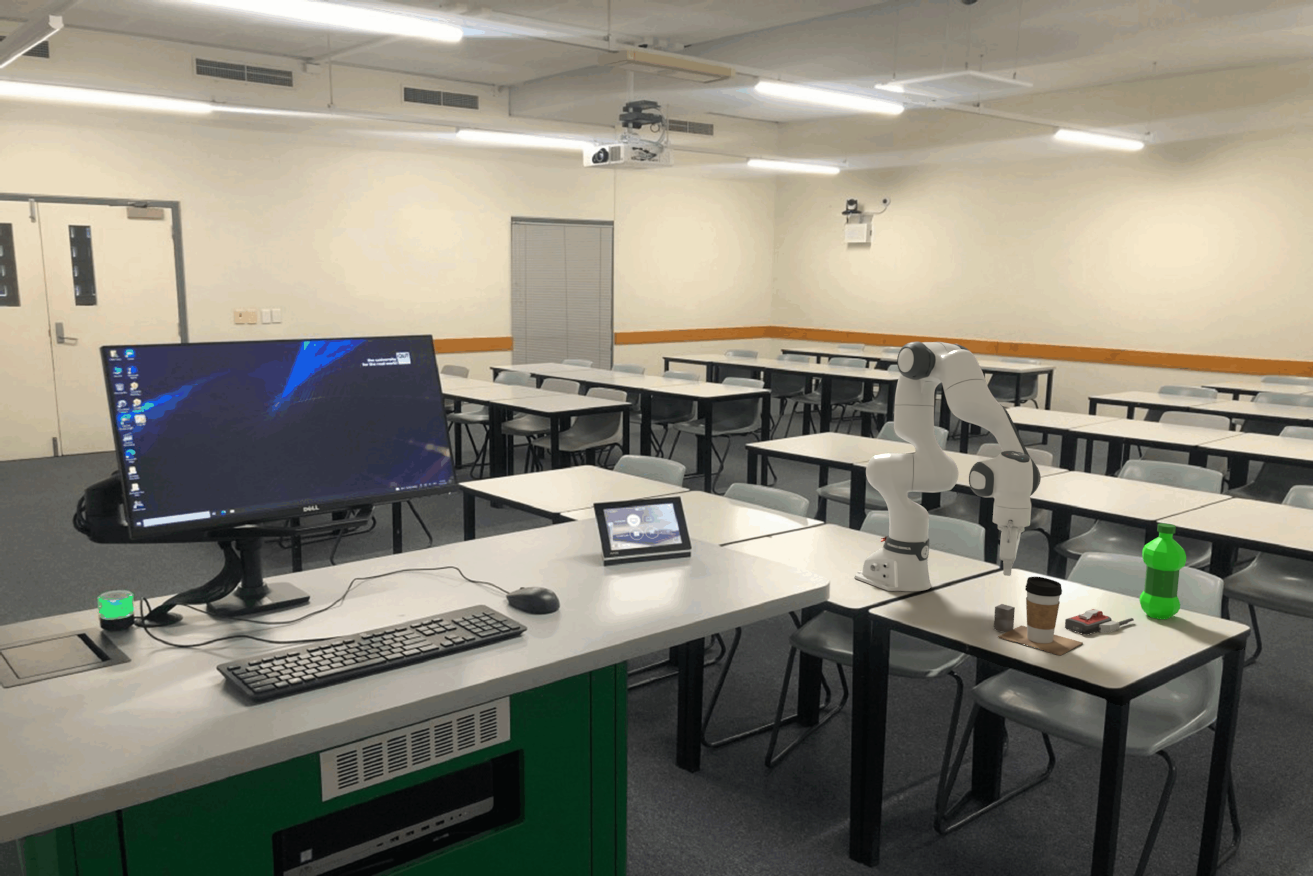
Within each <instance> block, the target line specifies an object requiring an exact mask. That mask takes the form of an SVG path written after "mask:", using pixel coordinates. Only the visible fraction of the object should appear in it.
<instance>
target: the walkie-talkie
mask: <svg viewBox="0 0 1313 876" xmlns="http://www.w3.org/2000/svg"><path fill="white" fill-rule="evenodd" d="M1103 613H1104V612H1103V611H1102V610H1098V609H1096V608H1091V609H1089V610H1086V611H1084V613H1079V614H1078V615H1075V616H1071V617H1068V618H1065V622H1064V629H1065V628H1066V630H1068V629H1069V631H1071V630H1072V632H1074V631H1076V632H1075V633H1077V632H1079V633H1078V634H1080V633H1082V634H1081V635H1083V634H1089V635H1091V634H1090V633H1092V634H1094V632H1095V633H1097V631H1099V633H1108V632H1109V633H1112V632H1115V631H1119V630H1120V628H1121V627H1120V626H1124V625H1127V624H1129V623H1131V622H1134V618H1132V617H1129V618H1127V619H1123V620H1120V621H1115V620H1112V618H1111V617H1110V616H1108V615H1105V614H1103Z"/></svg>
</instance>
